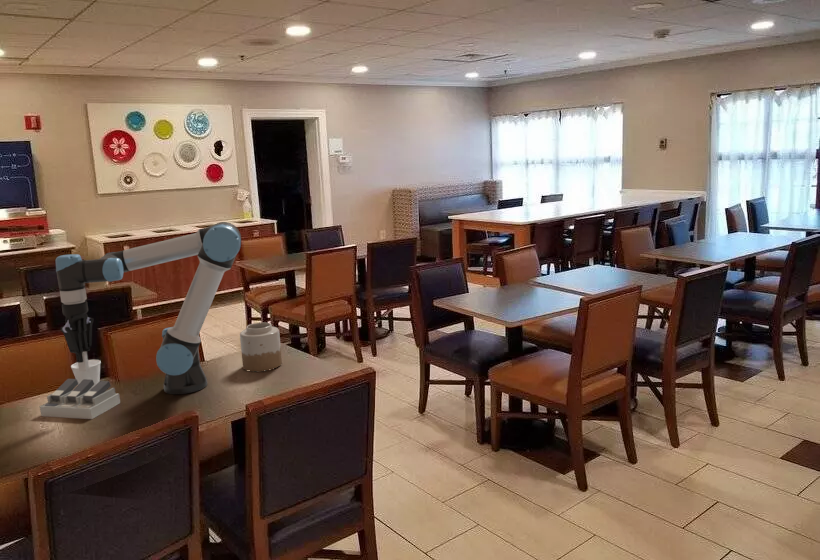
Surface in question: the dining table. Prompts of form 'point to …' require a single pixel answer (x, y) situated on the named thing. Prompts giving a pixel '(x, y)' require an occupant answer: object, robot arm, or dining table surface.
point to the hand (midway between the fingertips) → (84, 370)
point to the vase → (260, 347)
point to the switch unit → (80, 405)
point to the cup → (88, 372)
